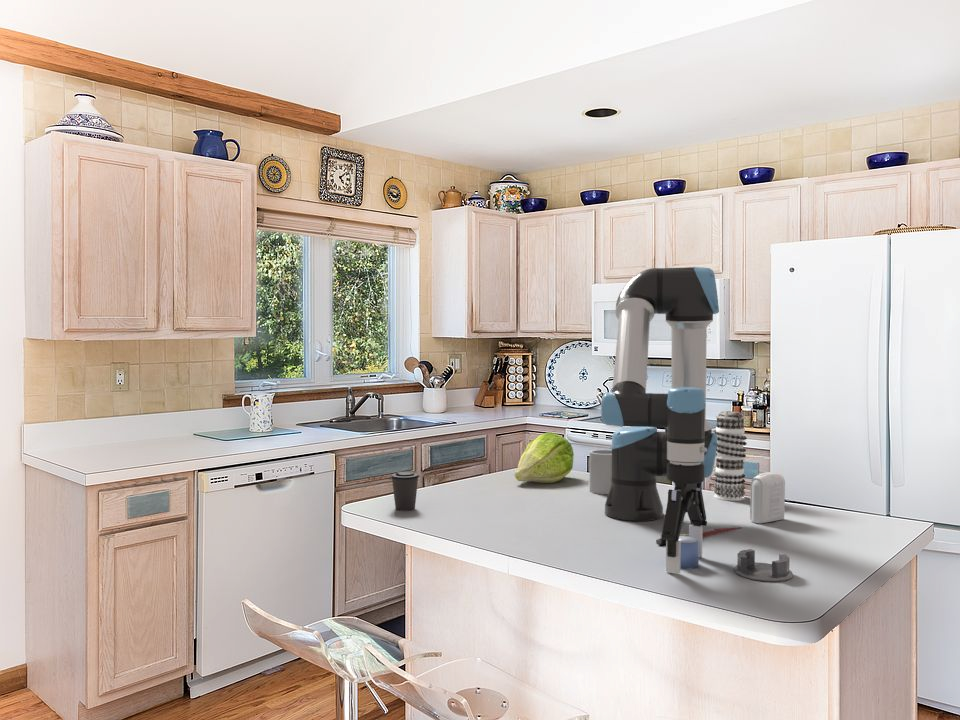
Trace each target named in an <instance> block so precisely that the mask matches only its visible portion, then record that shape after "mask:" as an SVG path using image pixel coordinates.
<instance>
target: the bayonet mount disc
mask: <svg viewBox="0 0 960 720" xmlns="http://www.w3.org/2000/svg"><path fill="white" fill-rule="evenodd" d="M755 551H756V550H755V549H752V548H749V549H742V550H739V551H738V553H737V562H736V563H737V564H736V565H735V566H734V567H733V572H734V573H735V574H736V575H737V576H739V577H741V578H745V579H748V580H752V581H757V582H764V583H782V582H787V581H789V580H791V579H793V577H794V576H793V575H794V574H793V571H792V570H791V569H790V557H789V556H787V554H784V553H783V554H782V553H781V554H778V560H772V561H771V563H767V562H757V561H756V559H755V558H756V554H755V553H756V552H755Z"/></svg>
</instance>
